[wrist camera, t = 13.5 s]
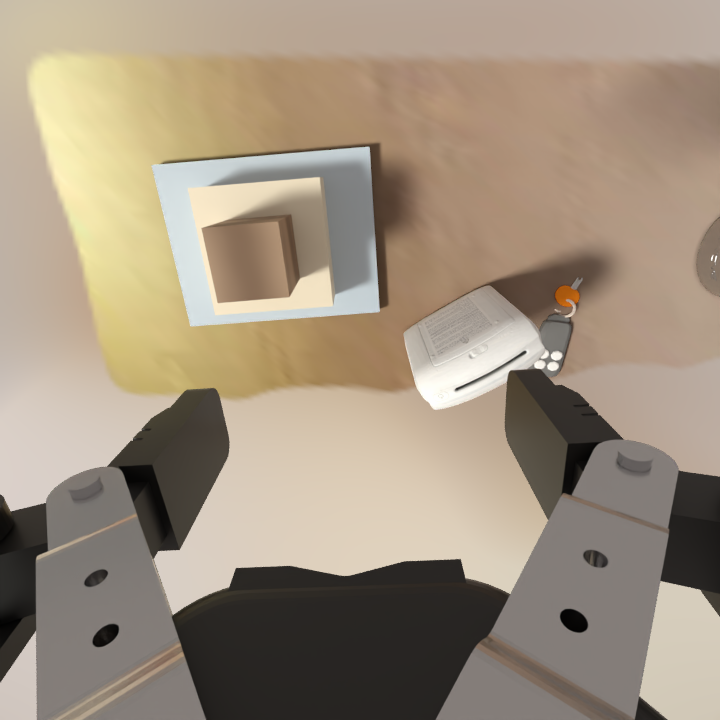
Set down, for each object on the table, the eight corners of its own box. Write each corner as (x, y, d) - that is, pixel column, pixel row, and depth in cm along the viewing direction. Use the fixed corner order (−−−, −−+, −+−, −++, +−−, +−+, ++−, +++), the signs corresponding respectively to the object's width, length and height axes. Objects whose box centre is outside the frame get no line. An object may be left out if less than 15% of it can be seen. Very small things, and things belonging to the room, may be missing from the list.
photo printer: (416, 365, 44) (437, 431, 32) (395, 331, 42) (409, 388, 31) (509, 314, 42) (567, 365, 30) (490, 276, 40) (543, 315, 29)
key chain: (555, 374, 45) (562, 380, 43) (521, 369, 44) (526, 375, 43) (600, 248, 40) (608, 250, 38) (561, 242, 40) (568, 244, 38)
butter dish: (369, 147, 36) (371, 142, 31) (379, 308, 41) (381, 325, 37) (156, 165, 36) (127, 163, 32) (194, 323, 42) (174, 341, 37)
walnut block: (291, 214, 33) (278, 221, 28) (300, 278, 35) (289, 297, 30) (227, 219, 33) (201, 228, 28) (239, 283, 35) (217, 303, 30)
